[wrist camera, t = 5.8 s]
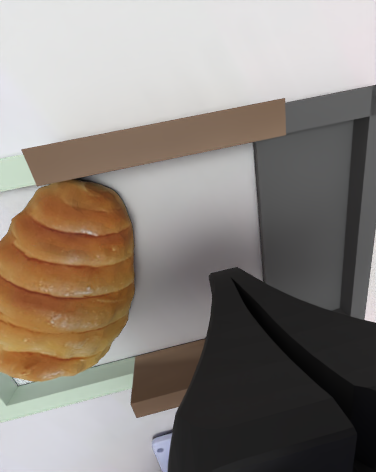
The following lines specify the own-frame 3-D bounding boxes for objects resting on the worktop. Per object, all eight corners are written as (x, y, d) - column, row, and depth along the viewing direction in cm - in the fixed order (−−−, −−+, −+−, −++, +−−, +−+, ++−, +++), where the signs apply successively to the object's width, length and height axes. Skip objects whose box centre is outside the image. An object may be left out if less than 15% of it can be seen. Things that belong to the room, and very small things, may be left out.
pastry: (21, 154, 10) (-48, 156, 7) (164, 201, 12) (168, 223, 8) (-2, 319, 13) (-60, 382, 9) (118, 339, 15) (106, 400, 11)
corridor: (268, 336, 16) (292, 375, 13) (140, 369, 15) (136, 418, 13) (251, 111, 11) (284, 98, 8) (57, 150, 10) (21, 149, 7)
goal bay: (140, 369, 15) (138, 386, 14) (10, 402, 15) (-2, 423, 14) (57, 150, 10) (45, 149, 9) (-144, 189, 10) (-183, 194, 9)
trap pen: (348, 315, 16) (363, 327, 15) (268, 336, 16) (276, 350, 15) (370, 88, 11) (394, 81, 10) (251, 111, 11) (262, 107, 10)
